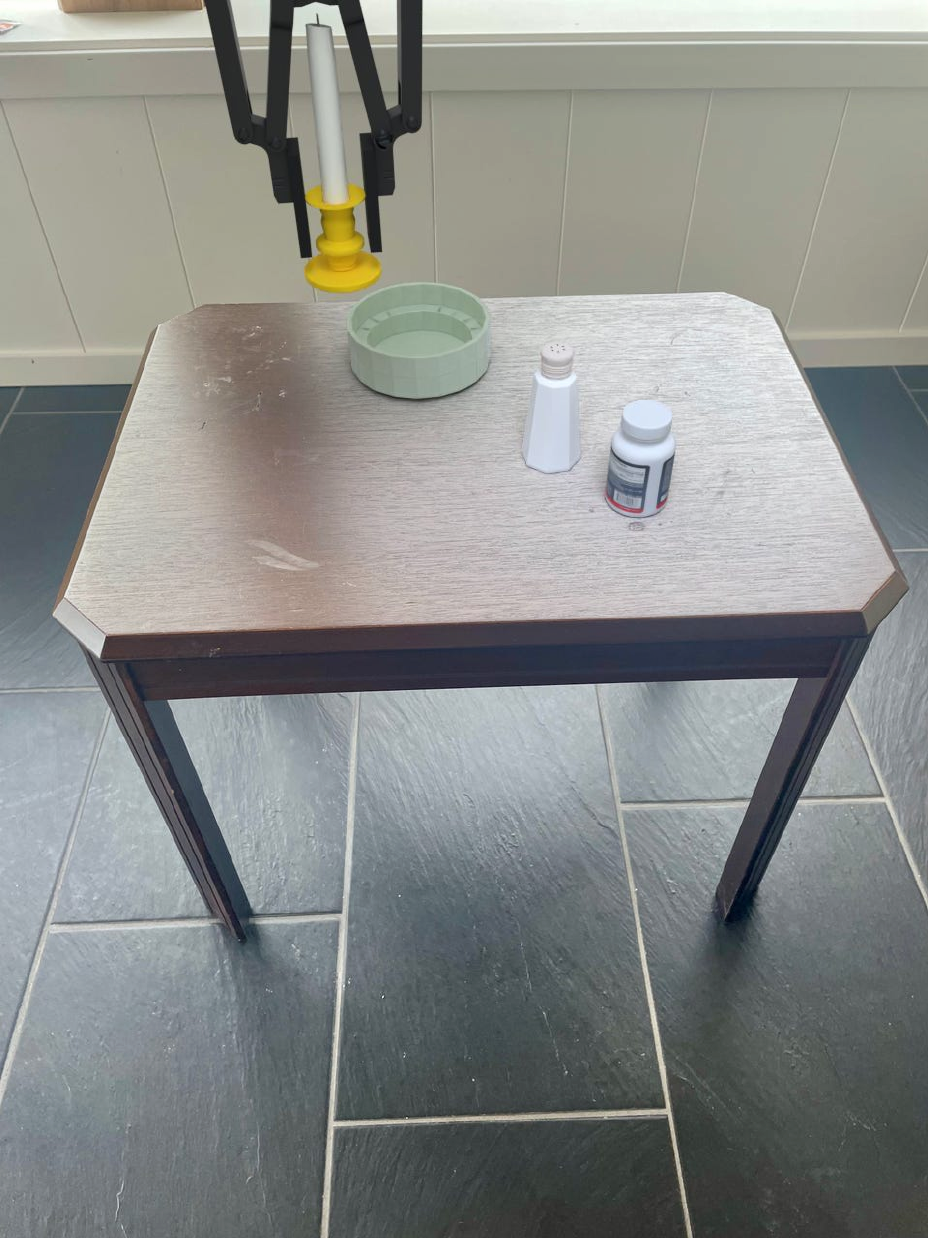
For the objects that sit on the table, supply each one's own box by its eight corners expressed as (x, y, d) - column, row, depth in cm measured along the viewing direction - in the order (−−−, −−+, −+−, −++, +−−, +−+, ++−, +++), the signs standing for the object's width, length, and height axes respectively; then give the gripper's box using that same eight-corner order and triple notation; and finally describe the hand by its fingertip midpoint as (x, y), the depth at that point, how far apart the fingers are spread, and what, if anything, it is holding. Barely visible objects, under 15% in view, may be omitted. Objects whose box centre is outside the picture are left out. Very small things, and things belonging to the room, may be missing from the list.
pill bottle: (650, 474, 85) (663, 388, 79) (677, 511, 82) (693, 424, 75) (594, 487, 84) (604, 401, 78) (619, 524, 81) (632, 438, 74)
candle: (336, 249, 68) (309, -6, 56) (396, 268, 66) (381, 8, 55) (289, 280, 65) (250, 17, 53) (351, 301, 63) (325, 33, 52)
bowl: (356, 409, 92) (350, 363, 89) (347, 331, 102) (342, 287, 98) (500, 395, 94) (500, 350, 90) (478, 320, 103) (478, 276, 99)
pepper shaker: (556, 430, 90) (563, 323, 82) (593, 460, 87) (604, 352, 78) (508, 451, 88) (511, 343, 80) (544, 482, 85) (551, 374, 76)
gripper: (453, -235, 50) (458, 211, 67) (120, -225, 48) (212, 229, 66) (476, -213, 45) (475, 262, 62) (105, -202, 43) (209, 283, 61)
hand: (340, 244), depth 64 cm, fingers closed on candle, 4 cm apart
